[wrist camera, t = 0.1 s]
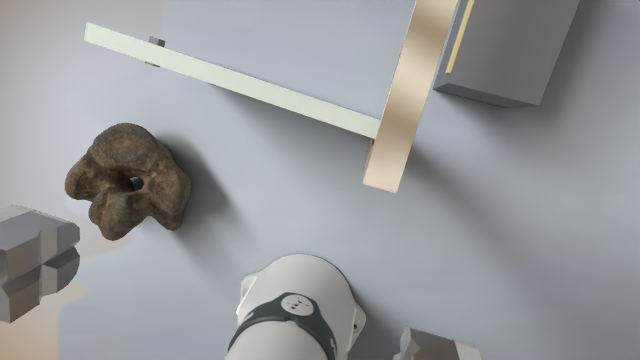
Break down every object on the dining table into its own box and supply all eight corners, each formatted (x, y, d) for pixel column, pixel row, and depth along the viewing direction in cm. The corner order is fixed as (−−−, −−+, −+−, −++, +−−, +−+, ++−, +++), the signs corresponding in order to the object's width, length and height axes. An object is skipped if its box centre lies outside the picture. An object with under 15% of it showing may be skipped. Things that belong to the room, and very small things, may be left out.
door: (392, 117, 44) (406, 119, 27) (384, 139, 45) (393, 154, 27) (195, 52, 46) (88, 13, 29) (190, 73, 47) (82, 48, 29)
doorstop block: (504, 107, 43) (539, 105, 34) (430, 88, 44) (445, 82, 35) (556, -33, 39) (608, -75, 31) (474, -50, 40) (502, -96, 31)
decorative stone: (189, 128, 43) (157, 251, 40) (216, 152, 54) (193, 250, 51) (66, 109, 44) (27, 228, 41) (118, 136, 55) (89, 232, 52)
